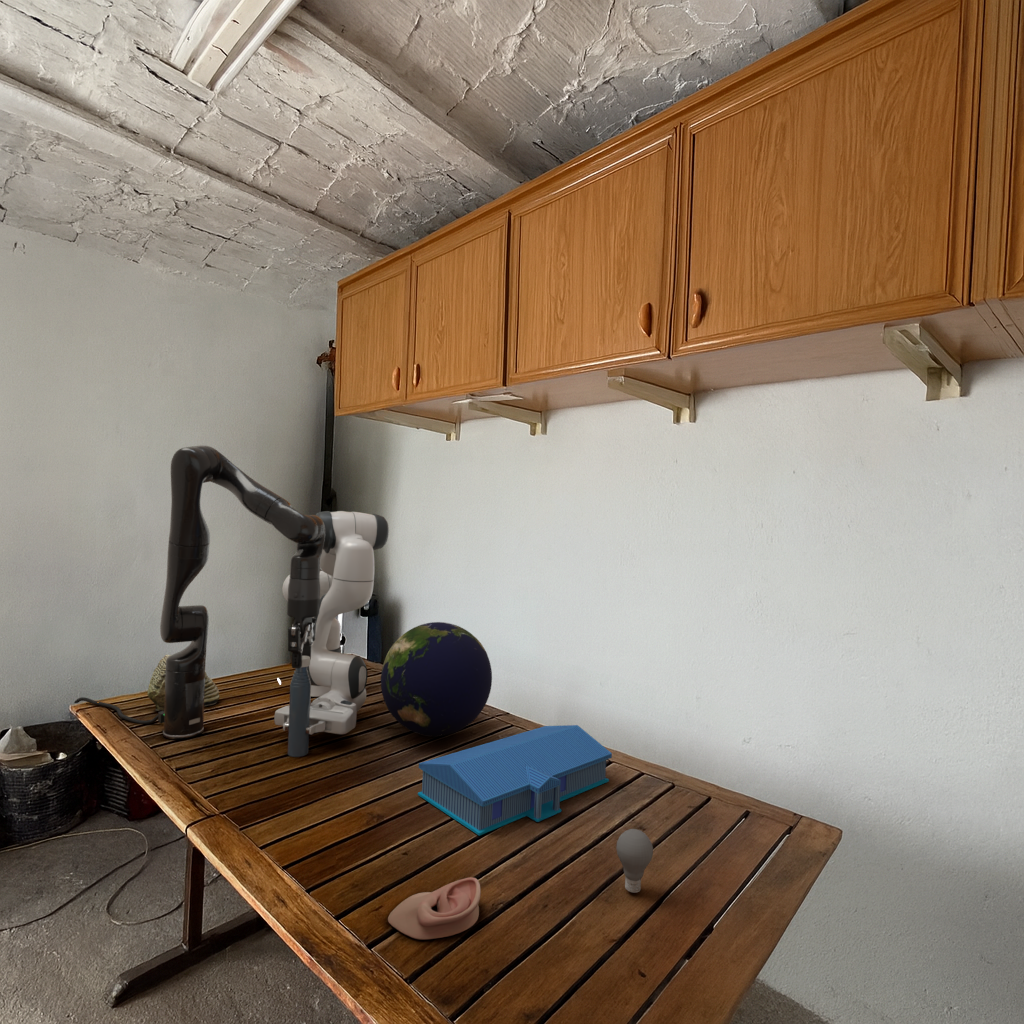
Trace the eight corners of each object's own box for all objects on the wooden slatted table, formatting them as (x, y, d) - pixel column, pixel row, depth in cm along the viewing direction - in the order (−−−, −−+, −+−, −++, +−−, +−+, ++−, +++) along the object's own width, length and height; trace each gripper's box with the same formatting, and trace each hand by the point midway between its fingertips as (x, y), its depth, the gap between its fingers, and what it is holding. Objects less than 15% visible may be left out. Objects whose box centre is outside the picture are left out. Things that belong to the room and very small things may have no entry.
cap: (291, 667, 153) (291, 659, 153) (293, 663, 157) (293, 655, 157) (309, 667, 154) (309, 659, 154) (310, 663, 158) (311, 655, 158)
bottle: (303, 757, 153) (307, 663, 153) (284, 756, 153) (287, 662, 153) (311, 749, 158) (315, 658, 157) (292, 748, 158) (296, 657, 158)
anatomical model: (380, 905, 93) (408, 862, 104) (379, 932, 93) (407, 886, 104) (467, 921, 90) (487, 875, 101) (466, 949, 90) (486, 900, 101)
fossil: (144, 707, 182) (145, 655, 182) (212, 696, 194) (213, 647, 194) (151, 716, 175) (153, 662, 175) (221, 703, 188) (223, 653, 188)
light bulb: (610, 879, 108) (613, 822, 108) (644, 879, 109) (647, 822, 109) (619, 902, 102) (622, 840, 102) (655, 901, 103) (658, 840, 103)
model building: (489, 842, 118) (492, 789, 118) (416, 794, 136) (418, 748, 136) (620, 786, 145) (622, 742, 145) (544, 751, 163) (546, 712, 163)
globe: (355, 741, 164) (360, 626, 164) (415, 708, 192) (419, 609, 191) (458, 763, 153) (464, 640, 152) (506, 725, 181) (511, 620, 180)
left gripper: (309, 601, 148) (307, 672, 148) (327, 592, 162) (325, 657, 162) (277, 600, 148) (275, 671, 148) (298, 591, 162) (296, 656, 162)
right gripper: (292, 695, 171) (260, 711, 157) (361, 704, 166) (334, 721, 152) (291, 718, 171) (259, 736, 157) (360, 728, 166) (333, 747, 152)
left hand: (301, 663), depth 155 cm, fingers open, 6 cm apart
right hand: (297, 729), depth 155 cm, fingers closed on bottle, 5 cm apart
